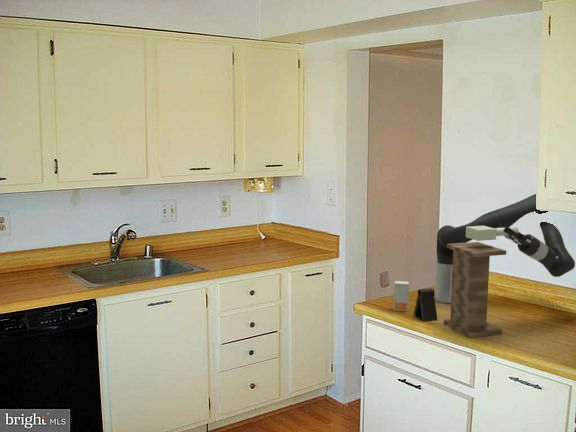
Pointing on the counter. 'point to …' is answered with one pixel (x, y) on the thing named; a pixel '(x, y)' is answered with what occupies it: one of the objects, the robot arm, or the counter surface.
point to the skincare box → (401, 296)
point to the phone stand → (425, 305)
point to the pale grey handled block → (485, 232)
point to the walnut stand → (471, 288)
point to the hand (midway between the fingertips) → (502, 228)
